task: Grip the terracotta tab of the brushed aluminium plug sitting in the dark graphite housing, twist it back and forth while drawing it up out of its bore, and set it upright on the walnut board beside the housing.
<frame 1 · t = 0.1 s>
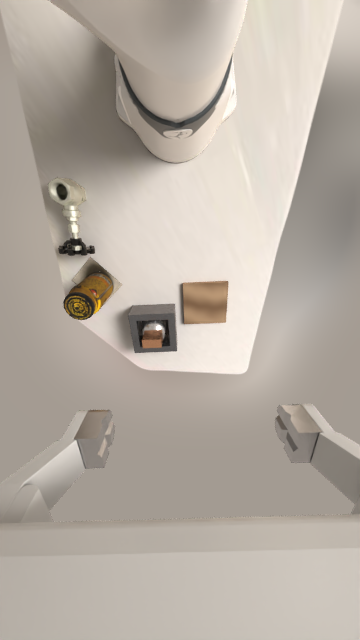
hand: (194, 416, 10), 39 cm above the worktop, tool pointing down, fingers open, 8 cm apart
plug: (154, 332, 48), in the housing
valve: (80, 217, 41), on the worktop
board: (204, 302, 50), on the worktop
condiment: (97, 281, 47), on the worktop
housing: (155, 323, 52), on the worktop
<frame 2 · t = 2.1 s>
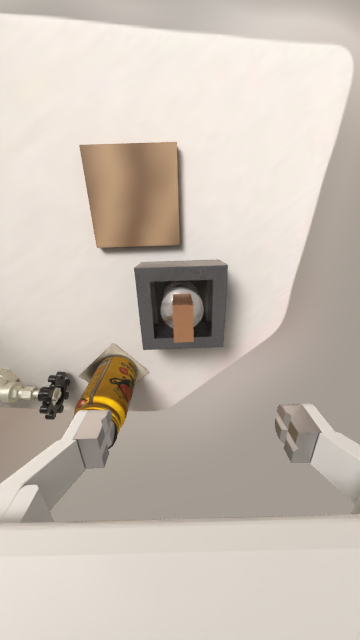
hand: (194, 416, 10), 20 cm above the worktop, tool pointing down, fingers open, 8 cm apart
plug: (182, 309, 25), in the housing
valve: (32, 377, 34), on the worktop
board: (135, 200, 25), on the worktop
condiment: (114, 372, 34), on the worktop
housing: (181, 298, 29), on the worktop
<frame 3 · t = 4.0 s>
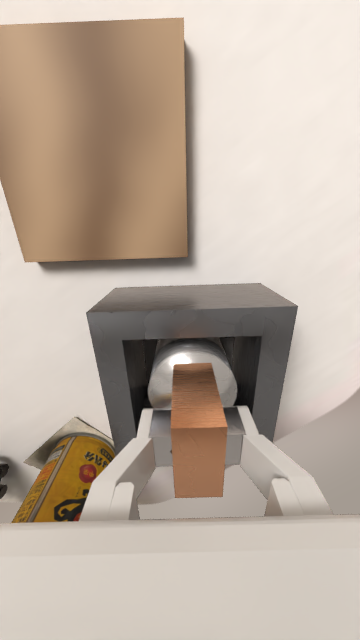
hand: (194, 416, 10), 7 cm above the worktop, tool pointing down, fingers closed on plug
plug: (192, 387, 12), in the housing, touching gripper
board: (97, 166, 12), on the worktop
condiment: (81, 454, 21), on the worktop
housing: (188, 348, 16), on the worktop
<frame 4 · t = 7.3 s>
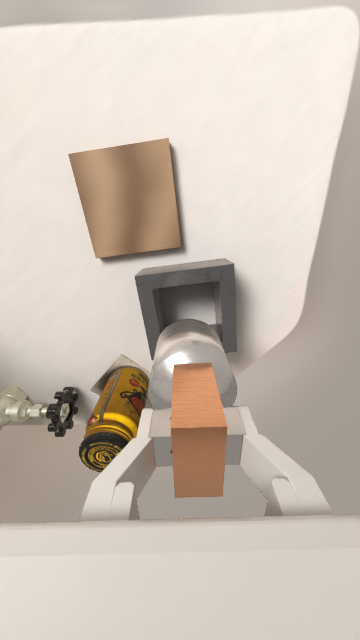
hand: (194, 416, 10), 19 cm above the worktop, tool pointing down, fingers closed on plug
plug: (192, 387, 12), point 16 cm above the worktop, touching gripper
valve: (41, 394, 34), on the worktop
board: (130, 205, 23), on the worktop
condiment: (126, 383, 33), on the worktop
housing: (187, 302, 28), on the worktop
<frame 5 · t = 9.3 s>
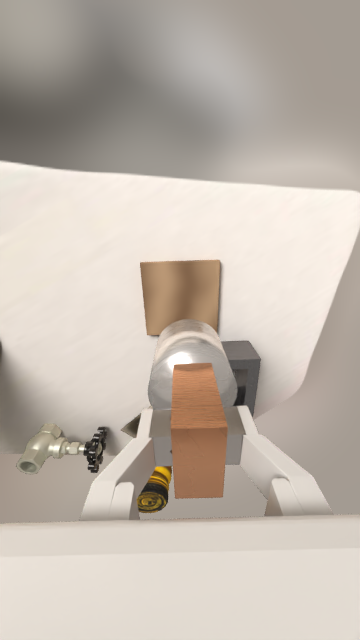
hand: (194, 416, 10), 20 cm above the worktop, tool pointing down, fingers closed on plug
plug: (192, 387, 12), point 18 cm above the worktop, touching gripper
valve: (74, 429, 39), on the worktop
board: (181, 298, 29), on the worktop
condiment: (151, 425, 39), on the worktop
housing: (214, 369, 34), on the worktop
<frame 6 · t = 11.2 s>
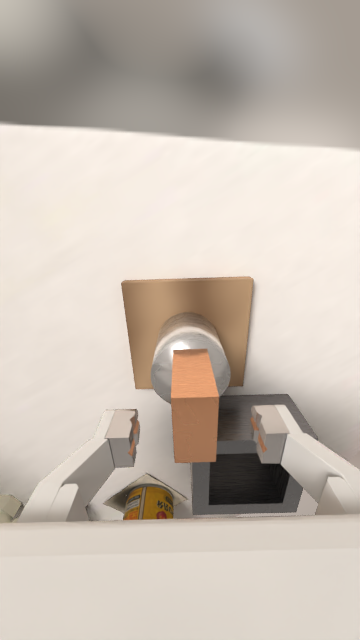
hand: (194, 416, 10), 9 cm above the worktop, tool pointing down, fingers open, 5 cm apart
plug: (190, 372, 14), on the board, point 6 cm above the worktop
valve: (38, 501, 28), on the worktop
board: (187, 334, 19), on the worktop
condiment: (145, 497, 28), on the worktop
housing: (235, 431, 23), on the worktop
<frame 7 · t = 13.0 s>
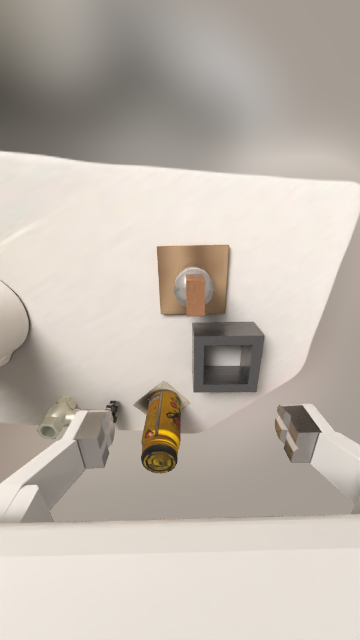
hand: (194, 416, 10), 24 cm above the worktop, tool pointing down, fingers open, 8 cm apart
plug: (193, 288, 27), on the board, point 6 cm above the worktop
valve: (87, 403, 42), on the worktop
board: (192, 280, 32), on the worktop
condiment: (161, 402, 42), on the worktop
housing: (221, 349, 37), on the worktop
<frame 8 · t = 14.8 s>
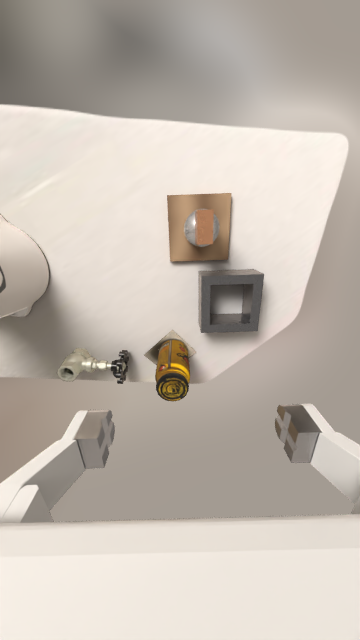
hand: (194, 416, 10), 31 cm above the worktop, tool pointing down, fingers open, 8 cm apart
plug: (201, 228, 31), on the board, point 6 cm above the worktop
valve: (100, 355, 45), on the worktop
board: (198, 229, 36), on the worktop
condiment: (170, 352, 45), on the worktop
housing: (224, 296, 40), on the worktop
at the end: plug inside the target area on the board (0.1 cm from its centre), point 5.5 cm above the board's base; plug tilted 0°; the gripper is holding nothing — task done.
